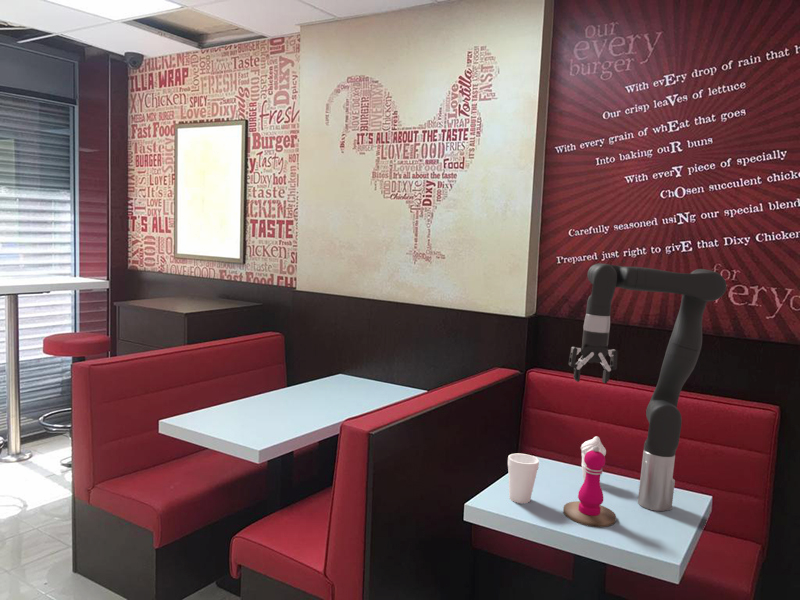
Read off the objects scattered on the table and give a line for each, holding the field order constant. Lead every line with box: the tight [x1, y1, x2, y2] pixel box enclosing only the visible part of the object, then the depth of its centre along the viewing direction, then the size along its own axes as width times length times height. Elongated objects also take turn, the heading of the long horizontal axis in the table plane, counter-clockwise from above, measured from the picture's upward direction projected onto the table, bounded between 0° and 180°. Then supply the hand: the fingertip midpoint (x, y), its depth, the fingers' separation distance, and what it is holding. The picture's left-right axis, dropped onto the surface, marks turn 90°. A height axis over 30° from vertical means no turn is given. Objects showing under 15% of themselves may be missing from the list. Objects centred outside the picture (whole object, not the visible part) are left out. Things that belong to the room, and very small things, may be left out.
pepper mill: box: [577, 446, 606, 516], centre depth 199 cm, size 7×7×20 cm
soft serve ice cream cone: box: [580, 436, 607, 482], centre depth 227 cm, size 8×8×16 cm
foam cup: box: [507, 452, 540, 504], centre depth 207 cm, size 10×9×13 cm
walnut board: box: [562, 500, 617, 528], centre depth 200 cm, size 15×15×1 cm
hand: (590, 382), depth 205 cm, fingers open, 8 cm apart
